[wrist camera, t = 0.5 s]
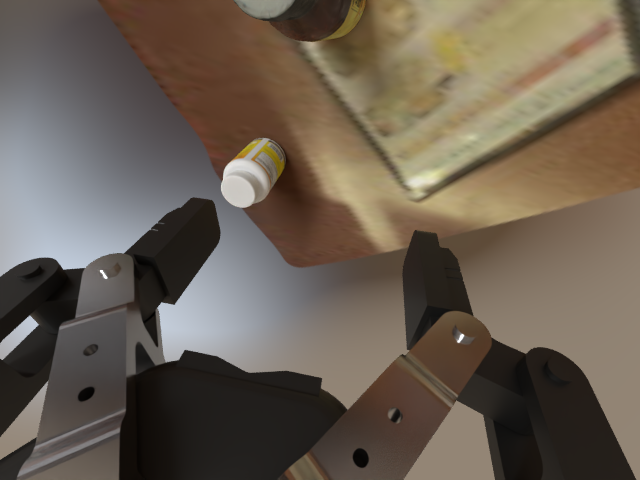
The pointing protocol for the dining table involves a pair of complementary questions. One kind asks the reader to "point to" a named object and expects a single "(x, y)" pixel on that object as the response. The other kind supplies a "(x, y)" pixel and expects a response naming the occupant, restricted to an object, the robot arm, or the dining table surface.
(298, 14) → the sauce bottle
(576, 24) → the dining table surface
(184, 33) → the dining table surface
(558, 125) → the dining table surface
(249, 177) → the supplement bottle
